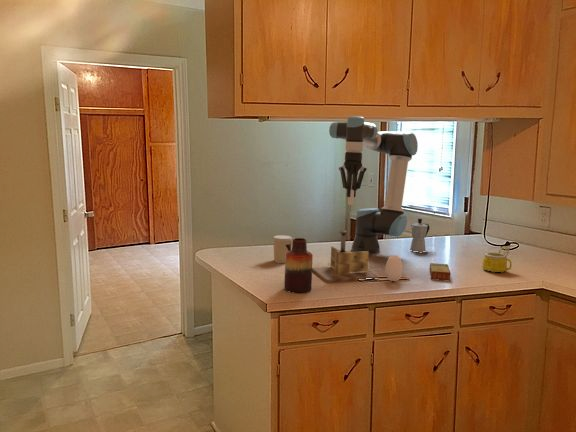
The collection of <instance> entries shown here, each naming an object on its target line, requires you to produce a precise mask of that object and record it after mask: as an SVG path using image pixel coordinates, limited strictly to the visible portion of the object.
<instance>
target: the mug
mask: <svg viewBox="0 0 576 432" xmlns="http://www.w3.org/2000/svg"><path fill="white" fill-rule="evenodd" d="M510 249H511V247H506V246H502V247H500V249H499V251H498V252H492V251H491V252H490V251H488V252H486V253H484V257H483V259H482V263H481V265H482V266H481V267H482V269H483V270H484V271H486V270H487V272H489V271H491V272H490V273H495V272H501V273H505V272H507V271H509V270H511V269H512V267H513V263H512V261H511V259H509V258H508V255H509V253H510ZM501 250H502V251H501ZM507 262H509V267H508V264H507ZM504 271H505V272H504Z"/></svg>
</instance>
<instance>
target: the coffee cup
mask: <svg viewBox="0 0 576 432" xmlns="http://www.w3.org/2000/svg"><path fill="white" fill-rule="evenodd" d="M272 240H273V260H274V262H275V263H278V264H285V254H286V253H287V252H288V251H291V250H292V241H293V237H292V236H291V235H283V234H282V235H281V234H278V235H274V236H273V237H272Z"/></svg>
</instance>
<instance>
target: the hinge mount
mask: <svg viewBox="0 0 576 432" xmlns="http://www.w3.org/2000/svg"><path fill="white" fill-rule="evenodd" d="M330 247H331V248H330V266H319V267H312V273H313V274H315V275H317V276H318V278H320V279H322V280H323V281H324V282H326V283H343V282H346V283H347V282H356V281H355V280H359V279H366V278H379V277H380V276H379V275H376V273H373V272H371V271H370V270H369V255H370V254H369V251H362V252H354V251H349V250H346V249H345V252H340V251H341V249H340V250H339V249H338V248H336V247H334V246H330Z"/></svg>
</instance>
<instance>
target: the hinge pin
mask: <svg viewBox="0 0 576 432" xmlns="http://www.w3.org/2000/svg"><path fill="white" fill-rule="evenodd" d="M339 233H340V250H341V251H340V252H345V250H346V244H347V243H346V240H347V238H346V237H347V234H348V230H343V229H342V230H340V231H339Z"/></svg>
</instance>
